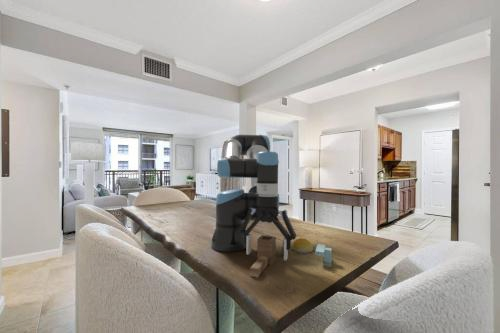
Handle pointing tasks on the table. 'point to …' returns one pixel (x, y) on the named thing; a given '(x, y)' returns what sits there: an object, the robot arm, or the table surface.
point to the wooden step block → (264, 254)
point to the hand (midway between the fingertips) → (266, 256)
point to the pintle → (283, 248)
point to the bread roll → (302, 246)
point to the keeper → (324, 254)
